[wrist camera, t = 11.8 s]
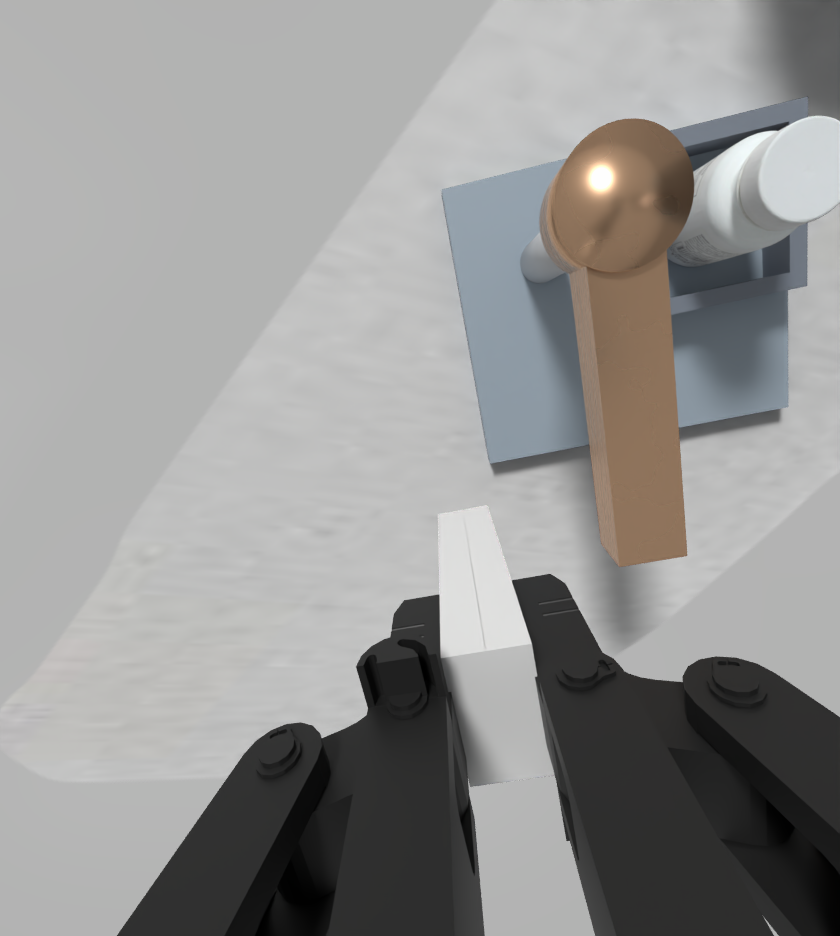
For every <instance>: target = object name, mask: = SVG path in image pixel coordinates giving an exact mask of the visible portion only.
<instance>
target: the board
mask: <svg viewBox="0 0 840 936" xmlns="http://www.w3.org/2000/svg"><path fill="white" fill-rule="evenodd" d="M807 117H808V97H804V98H800V99H795V100H791V101H787V102H783V103H779V104H775V105H771V106H767V107H763V108H759V109H755V110H751V111H747V112H743V113H739V114H735V115H731V116H727V117H723V118H719V119H715V120H711V121H707V122H703V123H699V124H695V125H691V126H687V127H683V128H679V129H675V130H671V131H670V132H672V133H673V134H674V135H675V136H676V137H677V138H678V140H679V141H680V142H681V143H682V145H683V146H684V148H685V150H686V152H687V153H688V156H689V158H690V161H691V164H692V168H693V172H694V171H695V170H697V169H699V168H700V167H702V166H703V165H705V164H706V163H708V162H709V161H711V160H712V159H714V158H716V157H717V156H718V155H720V154H721V153H723V152H724V151H726V150H727V149H729V148H730V147H732V146H733V145H735V144H736V143H738V142H740V141H741V140H743V139H745V138H747V137H749V136H751V135H754V134H757V133H761V132H766V131H779V130H781V129H783V128H785V127H786V126H788V125H790V124H792V123H794V122H796V121H798V120H801V119H804V118H807ZM566 160H567V159H563V160H559V161H555V162H551V163H547V164H543V165H539V166H535V167H531V168H527V169H523V170H519V171H514V172H510V173H506V174H502V175H498V176H494V177H490V178H486V179H482V180H478V181H474V182H470V183H466V184H462V185H458V186H454V187H450V188H446V189H442V200H443V205H444V211H445V217H446V222H447V228H448V234H449V239H450V245H451V250H452V256H453V262H454V267H455V273H456V279H457V284H458V290H459V296H460V301H461V307H462V312H463V318H464V324H465V329H466V335H467V341H468V346H469V352H470V358H471V363H472V369H473V374H474V380H475V386H476V391H477V397H478V403H479V408H480V414H481V420H482V425H483V431H484V436H485V442H486V448H487V453H488V459H489V462H490V464H491V463H496V462H501V461H506V460H512V459H517V458H522V457H527V456H533V455H538V454H543V453H549V452H554V451H559V450H564V449H570V448H575V447H580V446H585V445H589V437H588V429H587V420H586V412H585V403H584V395H583V387H582V378H581V370H580V361H579V353H578V344H577V336H576V328H575V319H574V311H573V302H572V294H571V285H570V277H569V274H567V273H566V272H564V271H562V270H561V269H560V268H559V267H558V266H557V265H556V264H555V263H554V262H553V261H552V260H551V258H550V257H549V255H548V254H547V252H546V250H545V248H544V245H543V242H542V239H541V234H540V226H539V218H540V209H541V204H542V201H543V197H544V195H545V193H546V190H547V188H548V186H549V185H550V183H551V181H552V180H553V178H554V177H555V175H556V174H557V173H558V171H559V170H560V168H561V167H562V165H563V164H564V163H565V161H566ZM667 261H668V276H669V291H670V306H671V321H672V336H673V351H674V365H675V380H676V395H677V410H678V425H679V428H680V427H685V426H691V425H696V424H701V423H707V422H712V421H717V420H722V419H728V418H733V417H738V416H743V415H749V414H754V413H759V412H764V411H770V410H775V409H780V408H786V407H788V290H790V289H795V288H800V287H804V286H807V223H806V224H803V225H800V226H798V227H797V228H796V229H795V230H794V231H793V232H792V233H790V234H789V235H788V236H787V237H785V238H784V239H782V240H781V241H779V242H777V243H775V244H773V245H771V246H768V247H765V248H762V249H759V250H756V251H753V252H749V253H745V254H742V255H738V256H735V257H732V258H728V259H725V260H721V261H718V262H714V263H710V264H707V265H703V266H698V267H685V266H681V265H678V264H676V263H674V262H672V261H671V260H669V259H668V258H667Z"/></svg>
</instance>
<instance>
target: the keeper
mask: <svg viewBox="0 0 840 936" xmlns="http://www.w3.org/2000/svg"><path fill="white" fill-rule="evenodd" d="M693 197H694V174H693V168H692V164H691V161H690V158H689V156H688V153H687V152H686V150H685V148H684V146H683V145H682V143H681V142H680V141H679V140H678V138H677V137H676V136H675V135H674V134H673V133H672V132H670V131H669V130H668V129H666V128H665V127H663V126H661V125H659V124H657V123H655V122H652V121H648V120H644V119H623V120H617V121H614V122H611V123H608V124H606V125H604V126H602V127H600V128H598V129H596V130H595V131H593V132H592V133H590V134H589V135H588V136H587V137H585V138H584V139H583V140H582V141H581V142H580V143H579V144H578V145H577V146H576V148H575V149H574V150H573V152H572V153H571V154H570V156H569V157H568V158H567V160H566V161H565V163H564V164H563V165H562V167H561V168H560V170H559V171H558V173H557V174H556V175H555V177H554V178H553V180H552V181H551V183H550V185H549V186H548V188H547V190H546V193H545V195H544V197H543V201H542V204H541V209H540V218H539V226H540V234H541V239H542V242H543V245H544V248H545V250H546V252H547V254H548V255H549V257H550V258H551V260H552V261H553V262H554V263H555V264H556V265H557V266H558V267H559V268H560V269H561V270H562V271H564V272H566V273H567V274H569V277H570V285H571V294H572V302H573V311H574V319H575V328H576V336H577V344H578V353H579V361H580V370H581V378H582V387H583V395H584V403H585V412H586V420H587V429H588V437H589V446H590V454H591V462H592V471H593V479H594V488H595V496H596V505H597V513H598V521H599V530H600V538H601V544H602V546H603V547H604V548H605V549H606V551H607V552H608V553H609V554H610V556H611V557H612V558H613V560H614V561H615V562H616V563H617V565H618V566H619V567H623V566H629V565H635V564H641V563H647V562H653V561H659V560H666V559H672V558H678V557H684V556H687V544H686V529H685V514H684V499H683V484H682V470H681V455H680V440H679V425H678V410H677V395H676V380H675V365H674V351H673V336H672V321H671V306H670V291H669V276H668V261H667V249H668V248H669V247H670V246H671V245H672V243H673V242H674V241H675V240H676V239H677V237H678V236H679V234H680V233H681V231H682V229H683V228H684V226H685V224H686V222H687V219H688V217H689V214H690V211H691V207H692V203H693Z"/></svg>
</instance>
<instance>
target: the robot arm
mask: <svg viewBox="0 0 840 936" xmlns="http://www.w3.org/2000/svg"><path fill="white" fill-rule="evenodd" d="M438 542H439V595H434V596H428V597H422V598H416V599H410V600H404V601H403V603H402V604H401V605H400V607H399V608H398V609H397V611H396V612H395V613H394V617H393V624H392V631H391V637H390V638H387V639H384V640H382V641H380V642H379V643H377V644H375V645H373V646H371V647H370V648H369V649H368V650H367V651H366V652H365V653H364V654H363V655H362V656H361V658H360V660H359V662H358V664H357V666H356V668H357V671H358V675H359V678H360V682H361V685H362V689H363V692H364V696H365V699H366V703H367V706H368V711H367V715H366V716H365V717H364V718H362V719H361V720H360V721H358V722H357V723H355V724H353V725H351V726H349V727H347V728H345V729H343V730H341V731H338V732H336V733H334V734H331V735H329V736H327V737H324V738H321V735H320V733H319V732H318V731H317V730H316V729H315V728H314V727H313V726H312V725H308V724H304V723H293V724H286V725H283V726H281V727H278V728H276V729H273V730H271V731H270V732H268V733H267V734H265V735H264V736H262V737H261V738H260V739H258V740H257V741H256V742H255V743H254V744H253V745H252V746H251V747H250V748H249V749H248V750H247V752H246V753H245V754H244V755H243V756H242V758H241V759H240V761H239V762H238V764H237V765H236V766H235V768H234V769H233V771H232V772H231V774H230V775H229V776H228V778H227V779H226V781H225V782H224V784H223V785H222V787H221V788H220V789H219V791H218V792H217V794H216V795H215V796H214V798H213V799H212V801H211V802H210V804H209V805H208V806H207V808H206V809H205V811H204V812H203V814H202V815H201V817H200V818H199V819H198V821H197V822H196V824H195V825H194V827H193V828H192V830H191V831H190V832H189V834H188V835H187V837H186V838H185V839H184V841H183V842H182V844H181V845H180V846H179V848H178V849H177V851H176V852H175V854H174V855H173V856H172V858H171V859H170V861H169V862H168V864H167V865H166V866H165V868H164V869H163V871H162V872H161V874H160V875H159V877H158V878H157V879H156V881H155V882H154V884H153V885H152V886H151V888H150V889H149V891H148V892H147V894H146V895H145V896H144V898H143V899H142V901H141V902H140V904H139V905H138V906H137V908H136V910H135V911H134V912H133V914H132V915H131V916H130V918H129V919H128V921H127V922H126V924H125V925H124V926H123V928H122V929H121V931H120V932H119V934H118V935H117V936H484V925H483V912H482V900H481V889H480V878H479V866H478V854H477V842H476V831H475V819H474V814H473V810H472V806H471V801H470V797H469V789H468V779H469V783H470V787H472V786H480V785H487V784H494V783H502V782H509V781H516V780H523V779H531V778H539V777H546V776H553V775H554V774H555V778H556V781H557V787H558V793H559V799H560V805H561V811H562V816H563V822H564V828H565V834H566V839H567V841H570V843H571V846H572V850H573V854H574V858H575V861H576V865H577V869H578V873H579V876H580V880H581V884H582V888H583V891H584V895H585V899H586V902H587V906H588V910H589V914H590V917H591V921H592V925H593V929H594V932H595V936H774V935H773V933H772V931H771V930H770V928H769V926H768V924H767V923H766V921H765V919H766V920H767V921H768V922H769V924H770V925H771V926H772V927H773V929H774V930H775V931H776V932H777V934H778V935H779V936H840V717H839V716H837V715H836V714H834V713H833V712H831V711H830V710H828V709H827V708H825V707H824V706H823V705H821V704H820V703H818V702H817V701H815V700H814V699H812V698H811V697H809V696H808V695H806V694H805V693H803V692H802V691H800V690H799V689H798V688H796V687H795V686H793V685H792V684H790V683H789V682H787V681H786V680H784V679H783V678H781V677H780V676H778V675H777V674H775V673H774V672H772V671H770V670H768V669H766V668H764V667H762V666H760V665H758V664H756V663H753V662H749V661H745V660H742V659H738V658H731V657H711V658H706V659H700V660H698V661H696V662H695V663H693V664H691V665H690V666H688V668H687V669H686V671H685V673H684V675H683V682H674V681H662V680H653V679H647V678H640V677H637V676H634V675H631V674H628V673H626V672H624V670H623V669H622V668H621V667H620V665H619V664H618V663H617V662H616V661H615V660H614V659H613V658H611V657H609V656H607V655H605V654H604V653H602V651H601V649H600V647H599V646H598V644H597V642H596V640H595V638H594V636H593V634H592V633H591V631H590V629H589V627H588V625H587V623H586V621H585V619H584V618H583V616H582V614H581V612H580V610H579V609H578V606H577V605H576V603H575V601H574V599H573V598H572V595H571V593H570V591H569V590H568V588H567V586H566V584H565V583H564V582H562V581H561V580H559V579H557V578H556V577H554V576H553V575H551V574H547V575H541V576H535V577H529V578H523V579H518V580H511V577H510V574H509V571H508V568H507V565H506V561H505V558H504V555H503V552H502V549H501V546H500V543H499V540H498V536H497V533H496V530H495V527H494V524H493V521H492V518H491V515H490V511H489V508H488V505H485V506H480V507H474V508H469V509H463V510H458V511H453V512H447V513H442V514H438ZM553 770H554V771H553ZM762 915H763V916H764V917H763V916H762ZM764 918H765V919H764Z"/></svg>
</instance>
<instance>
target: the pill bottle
mask: <svg viewBox="0 0 840 936" xmlns="http://www.w3.org/2000/svg"><path fill="white" fill-rule="evenodd" d="M693 174H694V197H693V203H692V207H691V211H690V214H689V217H688V219H687V222H686V224H685V226H684V228H683V229H682V231H681V233H680V234H679V236H678V237H677V239H676V240H675V241H674V242H673V243H672V245H671V246H670V247H669V248H668V249H667V258H668V259H669V260H671V261H672V262H674V263H676V264H678V265H681V266H685V267H698V266H703V265H707V264H710V263H714V262H718V261H721V260H725V259H728V258H732V257H735V256H738V255H742V254H745V253H749V252H753V251H756V250H759V249H762V248H765V247H768V246H771V245H773V244H775V243H777V242H779V241H781V240H782V239H784V238H785V237H787V236H788V235H789V234H790V233H792V232H793V231H794V230H795V229H796V228H797V227H798V226H800V225H803V224H806V223H808V222H811V221H814V220H816V219H818V218H820V217H822V216H824V215H825V214H827V213H828V212H830V211H831V210H832V209H834V208H835V207H836V206H837V205H838V204H839V203H840V121H839V120H837V119H835V118H831V117H827V116H812V117H807V118H804V119H801V120H798V121H796V122H794V123H792V124H790V125H788V126H786V127H785V128H783V129H781V130H779V131H766V132H761V133H757V134H754V135H751V136H749V137H747V138H745V139H743V140H741V141H740V142H738V143H736V144H735V145H733V146H732V147H730V148H729V149H727V150H726V151H724V152H723V153H721V154H720V155H718V156H717V157H716V158H714V159H712V160H711V161H709V162H708V163H706V164H705V165H703V166H702V167H700V168H699V169H697V170H695V171H694V172H693Z"/></svg>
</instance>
